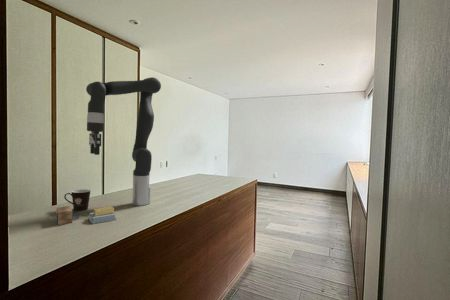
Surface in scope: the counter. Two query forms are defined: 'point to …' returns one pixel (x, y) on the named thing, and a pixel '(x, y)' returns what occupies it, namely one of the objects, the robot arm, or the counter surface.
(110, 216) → the cradle
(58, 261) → the counter surface
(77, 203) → the coffee mug
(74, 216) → the drift
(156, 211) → the counter surface
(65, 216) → the brown wooden block
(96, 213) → the yellow rectangular block
